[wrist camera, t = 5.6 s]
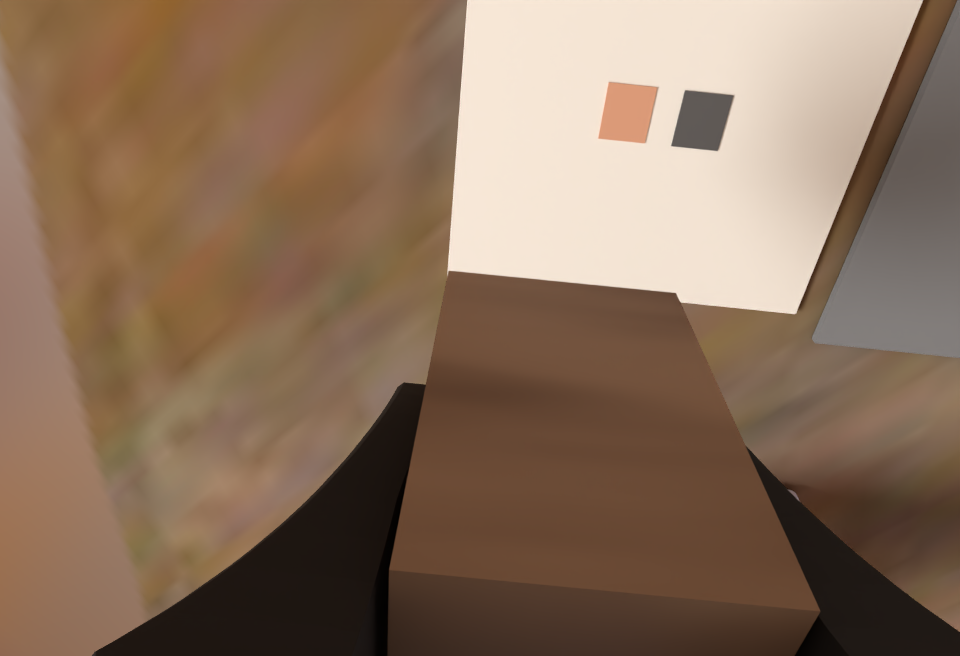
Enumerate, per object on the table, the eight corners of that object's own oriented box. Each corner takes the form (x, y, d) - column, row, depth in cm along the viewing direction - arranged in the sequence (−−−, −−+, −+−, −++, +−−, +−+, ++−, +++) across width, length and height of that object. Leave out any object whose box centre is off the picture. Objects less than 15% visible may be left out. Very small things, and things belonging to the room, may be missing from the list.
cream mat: (793, 311, 22) (796, 314, 22) (447, 275, 22) (447, 278, 22) (961, -107, 16) (967, -107, 16) (479, -159, 16) (479, -161, 16)
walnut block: (628, 461, 15) (704, 808, 9) (437, 443, 15) (385, 779, 9) (676, 293, 13) (820, 611, 7) (448, 270, 13) (388, 569, 7)
